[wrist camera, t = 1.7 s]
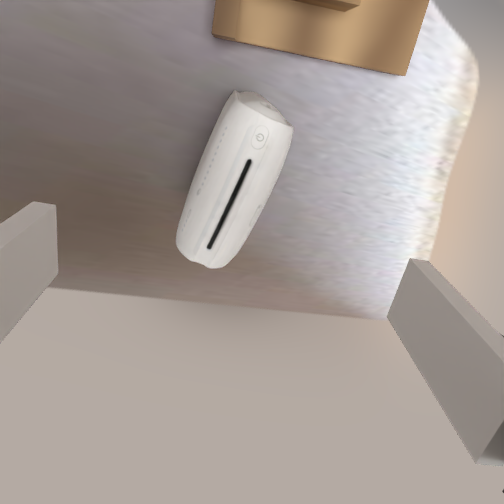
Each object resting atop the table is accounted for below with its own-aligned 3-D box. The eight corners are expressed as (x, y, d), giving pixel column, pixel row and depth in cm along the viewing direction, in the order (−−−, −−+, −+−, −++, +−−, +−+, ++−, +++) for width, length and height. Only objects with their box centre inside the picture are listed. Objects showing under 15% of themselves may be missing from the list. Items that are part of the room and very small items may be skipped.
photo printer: (232, 78, 29) (233, 89, 18) (283, 104, 30) (313, 129, 19) (182, 198, 33) (159, 267, 22) (229, 218, 34) (228, 293, 23)
